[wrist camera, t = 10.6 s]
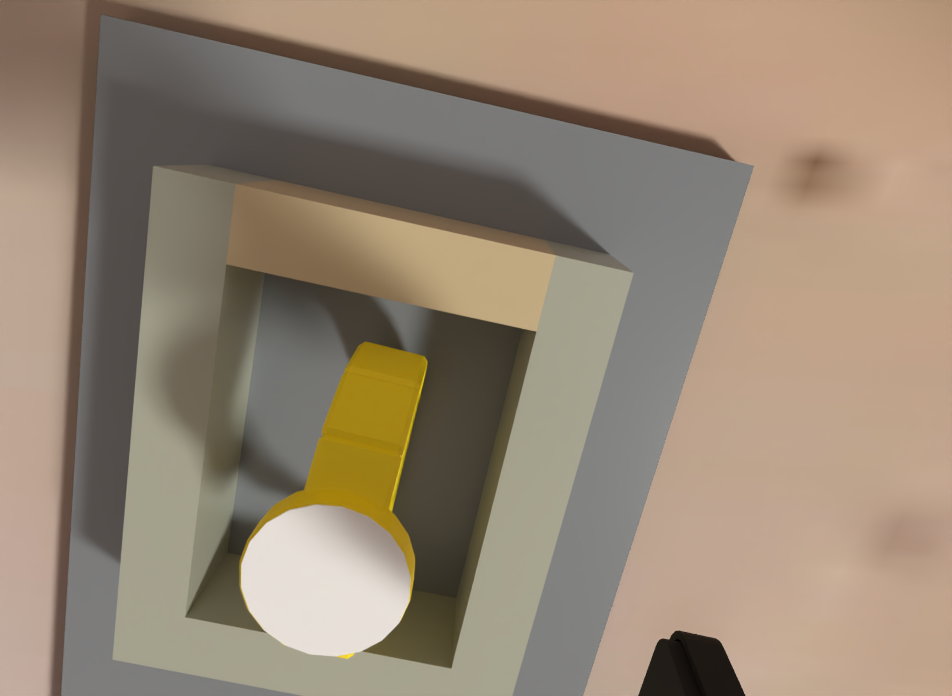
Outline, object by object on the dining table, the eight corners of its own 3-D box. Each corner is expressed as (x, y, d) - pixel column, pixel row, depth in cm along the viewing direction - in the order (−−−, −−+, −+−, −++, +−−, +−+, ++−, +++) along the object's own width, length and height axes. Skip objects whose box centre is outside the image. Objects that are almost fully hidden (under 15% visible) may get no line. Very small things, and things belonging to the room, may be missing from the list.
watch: (349, 313, 16) (275, 373, 10) (464, 341, 16) (457, 419, 10) (299, 540, 17) (206, 716, 11) (406, 565, 17) (371, 751, 11)
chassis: (740, 165, 15) (808, 166, 12) (531, 825, 20) (539, 947, 17) (120, 21, 14) (18, -17, 11) (73, 741, 20) (-5, 852, 17)
